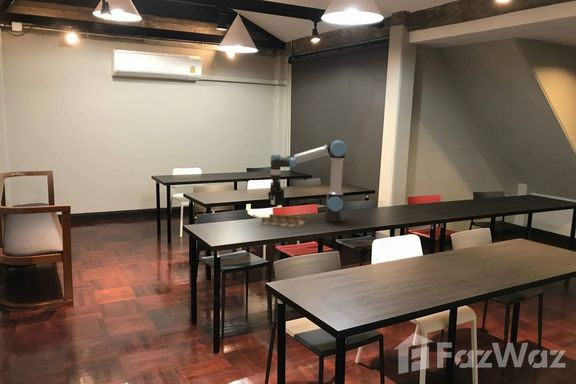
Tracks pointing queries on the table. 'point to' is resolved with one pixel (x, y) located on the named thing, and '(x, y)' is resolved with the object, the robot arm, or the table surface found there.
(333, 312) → the table surface
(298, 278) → the table surface
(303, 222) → the brown lumpy flat block
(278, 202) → the mug
